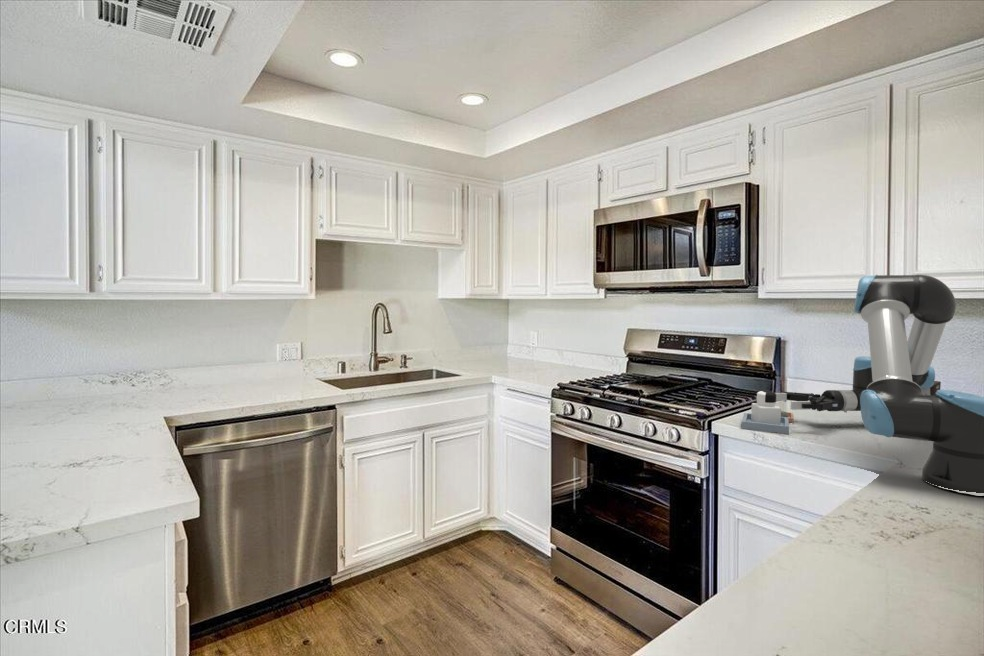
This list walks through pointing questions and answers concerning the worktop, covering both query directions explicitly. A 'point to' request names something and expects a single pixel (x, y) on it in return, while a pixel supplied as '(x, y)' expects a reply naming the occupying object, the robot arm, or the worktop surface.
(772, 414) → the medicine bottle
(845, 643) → the worktop surface
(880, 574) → the worktop surface
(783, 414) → the pebble
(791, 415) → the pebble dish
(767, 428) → the grey bin
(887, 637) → the worktop surface
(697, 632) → the worktop surface
